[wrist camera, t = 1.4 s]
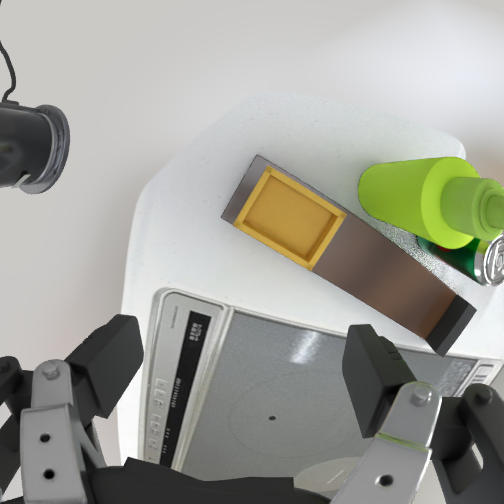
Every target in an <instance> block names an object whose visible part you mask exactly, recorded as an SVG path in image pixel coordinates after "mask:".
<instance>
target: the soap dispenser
mask: <svg viewBox="0 0 504 504" xmlns="http://www.w3.org/2000/svg"><path fill="white" fill-rule="evenodd" d="M358 196H359V200H360V203H361V205H362V207H363V208H364V210H365V211H366V212H367V213H368V214H369V215H370V216H372V217H374V218H376V219H379V220H381V221H384V222H386V223H389V224H391V225H394V226H396V227H399V228H401V229H403V230H406V231H408V232H411V233H413V234H415V235H418V236H420V237H422V238H424V239H427V240H429V241H431V242H434V243H436V244H438V245H440V246H442V247H445V248H449V249H456V248H460V247H463V246H465V245H467V244H468V243H469V242H470V241H472V240H473V238H474V237H475V238H478V239H481V240H484V241H492V240H494V239H496V238H497V237H498V236H499V235H500V234H501V233H502V231H503V230H504V189H503V188H502V186H501V185H500V184H499V183H498V182H497V181H495V180H493V179H489V178H480V176H479V175H478V173H477V171H476V170H475V169H474V168H473V166H472V165H470V164H469V163H468V162H467V161H465V160H463V159H461V158H458V157H441V158H429V159H418V160H408V161H399V162H390V163H382V164H376V165H373V166H371V167H370V168H368V169H367V170H366V171H365V172H364V173H363V175H362V177H361V179H360V181H359V186H358Z"/></svg>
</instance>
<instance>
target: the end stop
mask: <svg viewBox="0 0 504 504" xmlns="http://www.w3.org/2000/svg"><path fill="white" fill-rule="evenodd" d="M476 311H477V310H476V309H475V308H474V307H473V306H472V305H471V304H470V303H468V302H467V301H466V300H464V299H463V298H462V297H460V296H459V295H456V297H455V298H454V300H453V301H452V303H451V304H450V306H449V307H448V309H447V310H446V312H445V313H444V315H443V316H442V317H441V319H440V320H439V322H438V323H437V324H436V326H435V327H434V328H433V330H432V331H431V333H430V334H429V335H428V336H427V338H426V339H425V341H426V342H427V343H428V344H429V345H430V347H431V348H432V349H433V350H434V351H435V352H436V353H437V354H439V355H441V356H442V357H444V355H445V354H446V353H447V351H448V350H449V349H450V348H451V346H452V345H453V344H454V342H455V341H456V340H457V338H458V337H459V336H460V334H461V333H462V331H463V330H464V329H465V327H466V326H467V324H468V323H469V321H470V320H471V318H472V317H473V315H474V314H475V312H476Z"/></svg>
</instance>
